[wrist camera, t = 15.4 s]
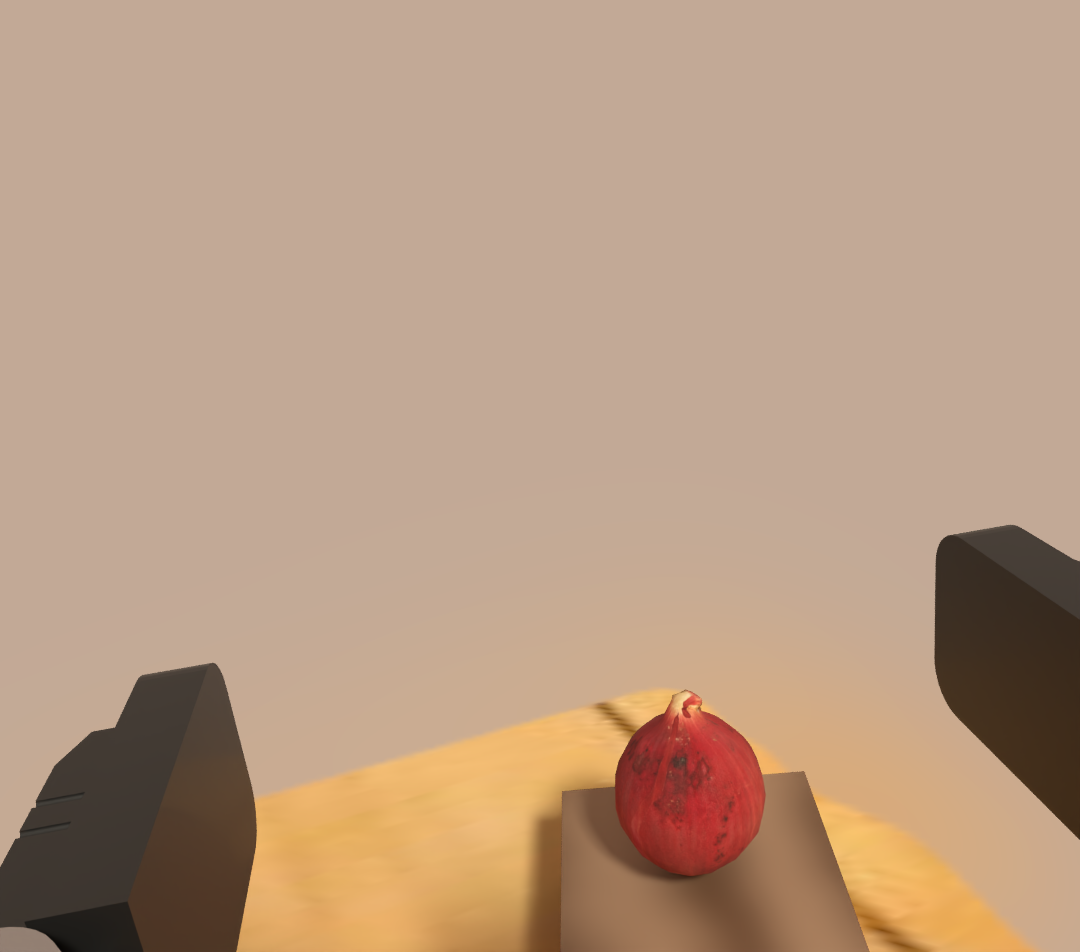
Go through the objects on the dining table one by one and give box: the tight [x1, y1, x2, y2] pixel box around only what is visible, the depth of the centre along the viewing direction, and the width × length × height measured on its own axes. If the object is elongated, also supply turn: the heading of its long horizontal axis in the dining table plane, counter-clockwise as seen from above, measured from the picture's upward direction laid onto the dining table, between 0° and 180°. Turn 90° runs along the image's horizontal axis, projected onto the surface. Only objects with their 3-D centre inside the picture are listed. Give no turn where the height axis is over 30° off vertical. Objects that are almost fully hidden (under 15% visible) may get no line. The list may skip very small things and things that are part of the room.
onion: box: [615, 690, 766, 876], centre depth 39 cm, size 6×6×8 cm
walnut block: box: [560, 771, 869, 952], centre depth 41 cm, size 11×11×5 cm
